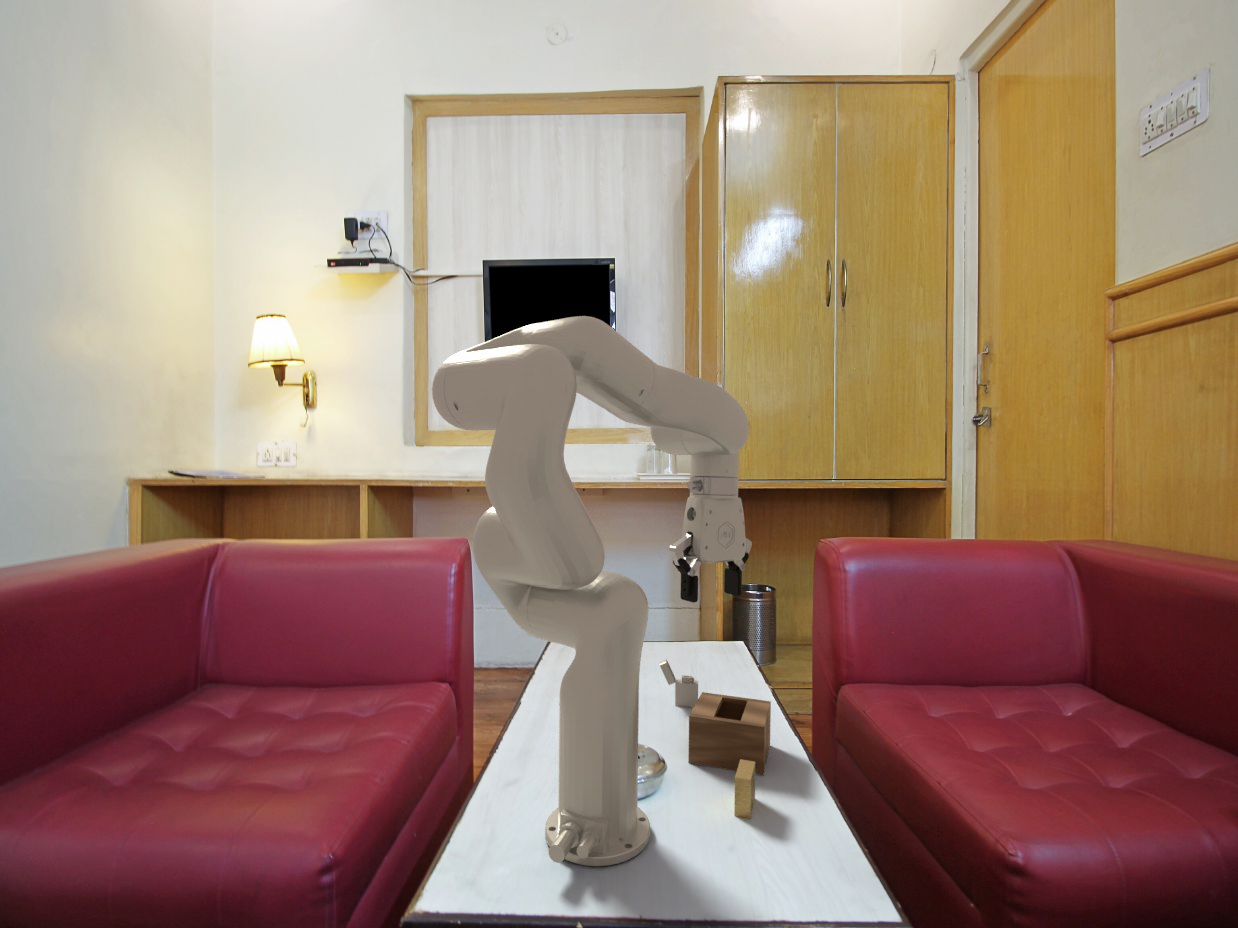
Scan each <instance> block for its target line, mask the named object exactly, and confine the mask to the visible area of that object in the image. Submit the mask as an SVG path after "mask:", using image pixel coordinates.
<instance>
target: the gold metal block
mask: <svg viewBox="0 0 1238 928" xmlns="http://www.w3.org/2000/svg"><path fill="white" fill-rule="evenodd" d="M755 800H756V774H755V762H754V761H748V760H742V759H740V762H739V765H738V769H737V771H736V772H735V776H734V812H733V813H734V817H737V818H743V819H747V820H751V819H752V818H751V817H752V814H753V809H754V805H755V802H756V801H755Z"/></svg>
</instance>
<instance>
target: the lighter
mask: <svg viewBox="0 0 1238 928" xmlns="http://www.w3.org/2000/svg"><path fill="white" fill-rule="evenodd" d="M659 667H660V669H661V671H662V674H663V675H664V678H665V680H666V682H667V684H668V686H670V685H673V684H675V686H674V688H675V690H674V692H675V695H674V696H675V697H674V699H675V701H674V705H675V707H683V708H684V707H685V708H694V706H695V704H696V702H697V701H698V699H699V680H695V677H693V676H692V675H685V674H681V679H677V678H676V677H675V675H674V672H673V669H672V667H671V666H670V663H669V661H668V659H664V660H662V661H660V662H659Z"/></svg>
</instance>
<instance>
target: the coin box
mask: <svg viewBox="0 0 1238 928" xmlns="http://www.w3.org/2000/svg"><path fill="white" fill-rule="evenodd" d="M771 705H772V704H771V701H770V700H763V699H754V698H747V697H741V696H732V695H727V694H726V695H725V694H720V693H719V694H718V693H711V692H704V691H702V692H701V693H700V696H698V701H697V702H696V704H695V706H694V707H692V710H691V712H690V713H689V715H688V760H687V761H688V763H689V764H695V765H700V766H706V767H710V768H711V767H712V768H716V769H717V768H718V769H723V770H729V771H736V772H737V769H738V765H739V762H740V759H742V760H748V761H754V762H755V775H758V776H764V775H765V772H766V767H767V763H768V758H769V751H770V748H771V711H772V710H771Z"/></svg>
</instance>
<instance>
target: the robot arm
mask: <svg viewBox="0 0 1238 928" xmlns="http://www.w3.org/2000/svg"><path fill="white" fill-rule="evenodd" d="M432 380H433V381H432V388H431V391H432V392H431V393H432V394H431V395H432V396H431V397H432V400H433V404H434V406H435V408H436V411H437V413H438V414H439V415H440V416H441V418H442V419H443V420H444V421H445V422H447V423H448V424H449V425H451V426H453V427H455V428H457V429H460V430H465V431H472V432H473V431H495V432H494V437H493V439H492V444H491V446H490V452H489V454H488V458H487V464H486V467H485V474H484V484H485V491H486V493H487V497H488V499H489V501H490V504H491V506H490V507H489V508H488V509H487V510H486V511H484V512H483V514H482V515H481V517H480V518H479V519H478V521H477V523H476V524H475V528H474V531H473V537H472V538H473V539H472V551H473V557H474V560H475V563H476V567H477V569H478V570H479V573H480V574H481V576H482V577H483V579H484V580H485V582H486V584H487V585H488V586H489V588H490V589H491V591H492V592H493V594H494V595H495V596H496V598H497V599H498V600H499V602H500V604H502V606H503V607H504V609H505V610H506V611H507V613H508V614H509V616H510V617H511V619H512V621H514V623H515V624H516V625H517V626H518V627H519V628H520V629H521V630H522V631H523V632H524V633H526V634H528V635H530V636H532V637H534V638H537V639H540V640H544V641H547V642H551V643H555V644H558V645H563V646H566V647H568V648H570V649H571V648H572V649H574V650H575V654H574V655H575V656H574V658H573V660H572V661H571V664H569V667H567V670H566V671H565V673H564V675H563V677H562V679H561V683H560V686H559V702H558V703H559V704H558V705H559V719H558V720H559V721H558V722H559V732H558V733H559V735H558V737H559V738H558V740H559V741H558V743H559V745H558V806H557V808H556V809H554V810H553V811H552V813H550V814H549V816H548V818H547V820H546V823H545V827H544V828H545V829H544V831H545V833H544V834H545V840H546V842H547V845H548V847H549V848H548V856H549V858H550V859H551V860H552V862H554V863H558V864H559V863H562V862H563V861H564V860H566V861H568V862H571V863H574V864H576V865H577V864H578V865H581V866H589V867H605V866H611V865H618V864H620V863H623V862H627V861H628V860H630V859H632V858H634V857H636V856H637V855H639V854H640V853H642V851H643V850H644V849H645V848H646V846H647V845H648V843H649V841H650V836H651V823H650V820H649V817H648V816H647V815H646V813H645V812H644V811H643V810H642V809H641V808H640V807H638V798H639V797H638V796H639V795H638V793H639V792H638V791H639V787H638V786H639V783H638V781H639V710H640V709H639V706H640V705H639V704H640V703H639V699H640V698H639V697H640V693H639V692H640V672H641V671H640V670H641V669H640V668H641V658H642V651H643V646H644V641H645V637H646V631H647V626H648V619H649V602H648V601H649V600H648V598H647V595H646V593H645V591H644V589H643V588H642V587H641V586H640V585H639V584H638V583H637V582H636V581H634V579H631V578H629V576H628V577H627V576H625V575H622V574H620V573H616V572H612V571H604V570H603V569H604V566H605V559H606V558H605V549H604V545H603V542H602V541H603V540H602V539H601V535H600V532H599V531H598V529H597V527H596V524H595V523H594V521H593V519H592V517H591V516H590V514H589V512H588V510H587V508H586V506H585V504H584V502H583V501H582V499H581V497H580V494H579V493H578V491H577V489H576V487H575V485H574V484H573V481H572V479H571V477H570V475H569V472H568V470H567V468H566V467H567V466H566V464H565V446H566V445H565V443H566V438H567V432H568V428H569V425H570V421H571V416H572V414H573V410H574V408H575V407H574V406H575V403H576V398H577V394H579V395H581V396H583V397H584V398H586V399H587V400H589V401H591V402H593V403H594V404H595V405H597V406H599V407H601V408H603V409H604V410H606V412H608V413H610V414H611V415H613V416H614V417H616V418H618V419H619V420H621V421H623V422H626V423H629V424H633V425H638V426H644V427H649V428H650V436H651V439H652V442H653V444H655V446H656V447H657V448H658V449H659V450H660V451H662V452H664V453H665V454H670V455H674V456H675V455H676V456H690V472H689V473H690V474H689V475H690V477H689V481H688V482H687V489H688V490H689V496H688V497H687V500H686V504H685V510H684V516H683V524H682V536H681V538H679V539H677V541H675V542H674V543H672V544H671V545H670V546H669V548H668V551H669V554H670V557H671V559H672V564H673V565H674V567H675V568H676V569H677V573H678V574H680V594H679V595H680V596H679V597H680V599H681V600H682V601H687V602H690V603H693V604H694V603H697V602H698V600H699V576H698V575H696V573H697V571H698V570H699V568H700V567H701V565H702V563H704V564H717V563H725V564H726V566H727V567H725V568H724V574H723V575H724V577H723V578H724V581H723V582H724V583H723V585H724V586H723V587H724V589H723V591H724V593H725V594H729V595H734V596H737V597H740V596H742V581H743V579H742V578H743V571H744V570H745V569H746V563H747V561H748V559H749V557H750V556H749V554H750V552H751V549H752V545H753V542H752V541H751V540H750V539H749V538H747V537H746V527H745V524H746V523H745V515H744V507H743V502H742V498H741V497H739V471H740V470H739V466H740V465H739V463H740V451H741V450H742V449H743V448H744V447H745V445H746V444H747V441H748V439H749V434H750V424H749V419H748V416H747V413H746V411H745V410H744V408H743V407H742V405H741V404H740V403H739V402H738V400H736V399H735V397H734V396H732V395H731V394H730V393H729V392H728V391H727V390H725V389H724V388H723V387H721V386H719V384H718V385H717V384H715V383H713V382H711V381H710V380H706V379H703V378H701V377H697V376H694V375H691V374H688V373H685V372H682V371H680V370H676V369H675V368H674V369H673V368H671V367H666V366H662V365H659V364H658V363H656V362H654V361H653V359H651V358H650V357H648V356H647V355H646V354H645V353H644V352H642V351H641V350H640V349H638V347H636V346H635V345H634V344H633V343H631V342H630V341H629V340H628V339H626V338H625V337H624V336H623V335H622V334H620V333H619V332H618V331H617V330H615V329H614V328H613V327H611V326H610V325H609V324H608V323H606V322H605V321H603V320H601V319H599V318H596V317H594V316H587V315H582V316H581V315H579V316H578V315H577V316H570V317H564V318H559V319H554V320H553V319H552V320H548V321H547V320H546V321H542V322H536V323H531V324H528V325H525V326H521V327H519V328H516V329H513V330H510V331H509V332H506V333H504V334H502V335H500V336H497V337H494V338H492V339H490V340H487V341H485V342H482V343H479V344H477V345H475V346H472V347H470V348H466V349H464V350H461V351H459V352H457V353H455V354H453V355H451V356H449V357H448V358H447V359H446V360H445V361H443V362H442V363H441V365H440V366H439V367H438V369H437V371H436V372H435V374H434V377H433V379H432Z"/></svg>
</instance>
